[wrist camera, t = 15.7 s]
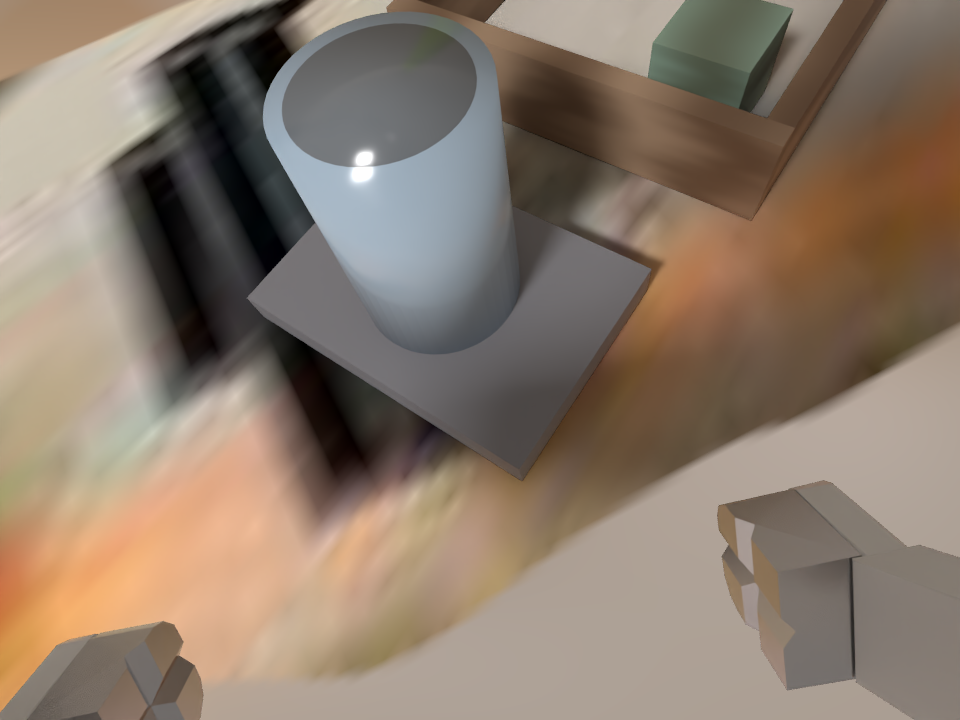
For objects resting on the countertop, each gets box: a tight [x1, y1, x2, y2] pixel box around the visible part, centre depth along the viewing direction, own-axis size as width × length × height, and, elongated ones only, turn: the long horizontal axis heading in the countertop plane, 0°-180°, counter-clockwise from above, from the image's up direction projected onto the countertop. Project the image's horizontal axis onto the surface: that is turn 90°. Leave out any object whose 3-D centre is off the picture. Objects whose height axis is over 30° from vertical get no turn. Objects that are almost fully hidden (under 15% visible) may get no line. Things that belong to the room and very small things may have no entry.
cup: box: [263, 12, 520, 354], centre depth 19 cm, size 6×6×9 cm
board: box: [247, 206, 652, 481], centre depth 24 cm, size 13×9×2 cm
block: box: [648, 0, 793, 113], centre depth 26 cm, size 4×4×4 cm
